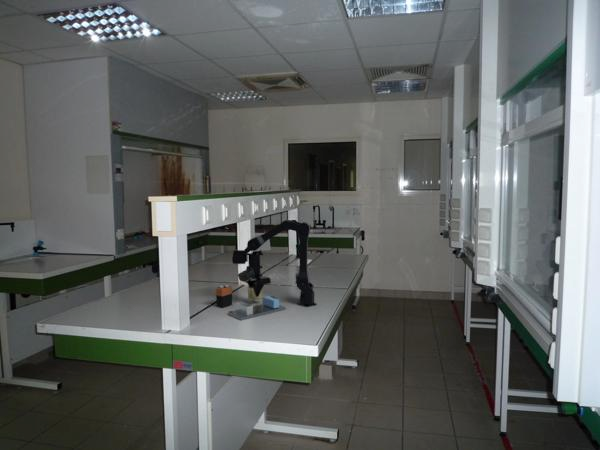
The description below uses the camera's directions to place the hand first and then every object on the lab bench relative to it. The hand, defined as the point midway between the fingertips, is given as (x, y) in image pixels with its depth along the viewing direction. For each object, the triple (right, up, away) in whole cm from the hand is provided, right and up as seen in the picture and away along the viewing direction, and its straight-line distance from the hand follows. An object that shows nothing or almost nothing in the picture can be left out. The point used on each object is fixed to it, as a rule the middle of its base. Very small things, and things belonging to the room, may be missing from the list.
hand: (255, 295), depth 203 cm
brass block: (0, -2, 0) cm, 2 cm away
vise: (+2, -5, -14) cm, 15 cm away
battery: (-14, -5, -3) cm, 15 cm away
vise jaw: (+9, -3, -8) cm, 12 cm away
